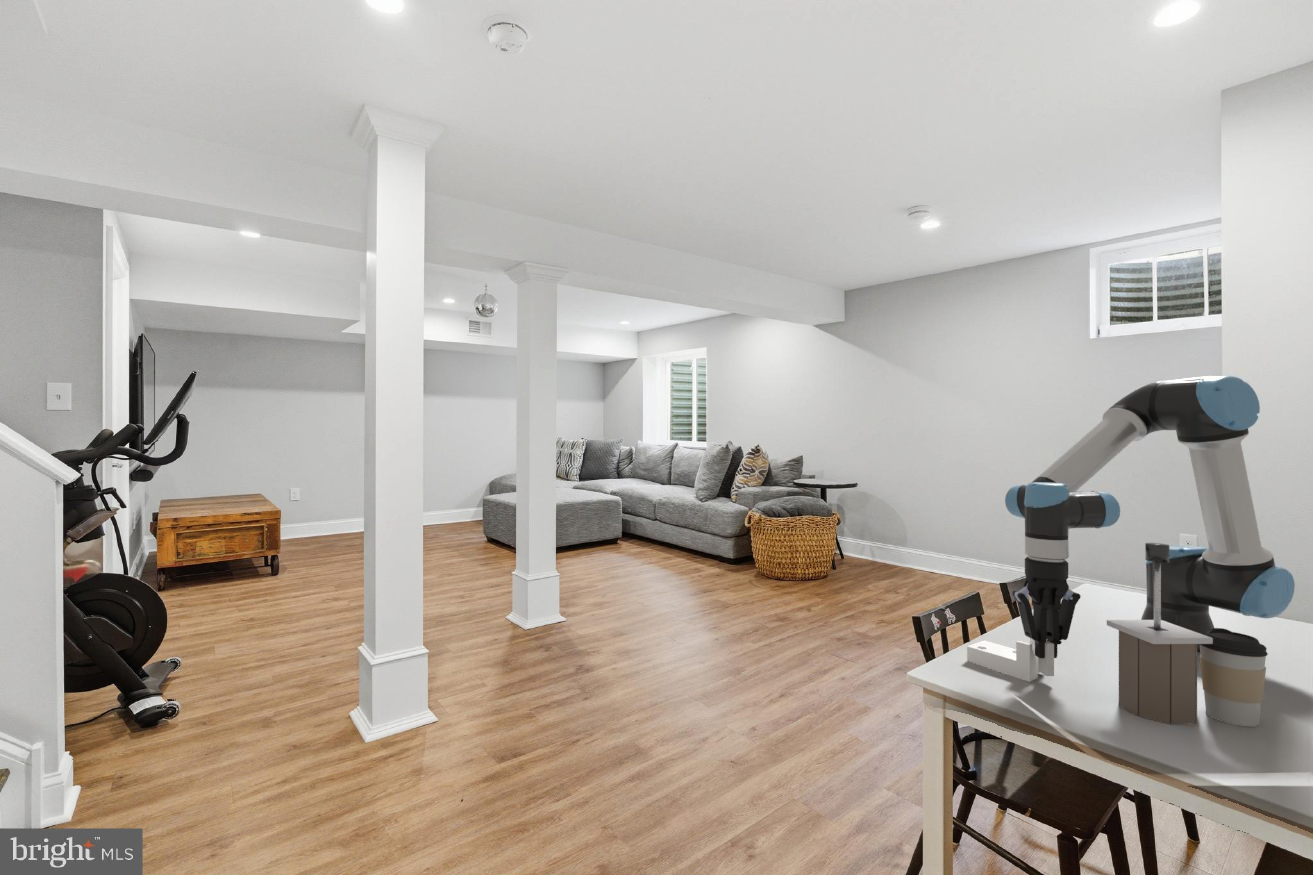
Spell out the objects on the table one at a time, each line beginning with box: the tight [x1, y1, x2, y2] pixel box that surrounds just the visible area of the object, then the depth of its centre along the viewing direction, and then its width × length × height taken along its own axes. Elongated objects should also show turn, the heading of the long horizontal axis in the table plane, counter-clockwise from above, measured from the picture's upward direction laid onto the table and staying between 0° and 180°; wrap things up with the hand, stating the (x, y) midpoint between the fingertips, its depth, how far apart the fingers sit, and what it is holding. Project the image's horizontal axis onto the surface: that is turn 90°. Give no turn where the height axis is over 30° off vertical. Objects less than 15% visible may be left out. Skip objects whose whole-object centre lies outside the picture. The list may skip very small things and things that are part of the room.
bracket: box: [966, 638, 1041, 683], centre depth 131 cm, size 13×7×8 cm, turn 34°
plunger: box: [1144, 542, 1170, 631], centre depth 111 cm, size 7×7×19 cm
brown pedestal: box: [1106, 619, 1213, 725], centre depth 111 cm, size 11×11×15 cm
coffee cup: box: [1199, 627, 1269, 727], centre depth 108 cm, size 9×9×15 cm
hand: (1045, 673), depth 123 cm, fingers closed
